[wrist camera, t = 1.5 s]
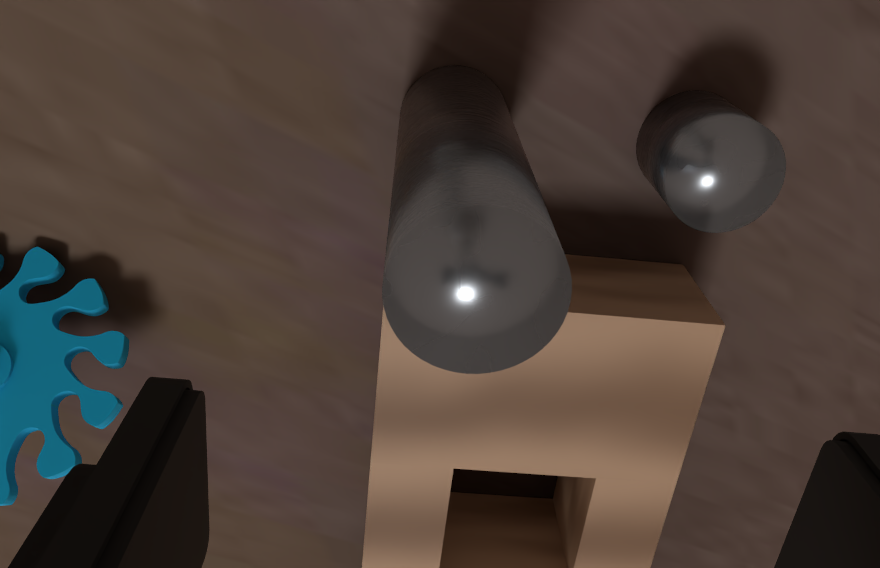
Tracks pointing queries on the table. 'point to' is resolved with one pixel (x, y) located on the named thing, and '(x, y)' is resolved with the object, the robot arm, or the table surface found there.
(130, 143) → the table surface
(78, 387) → the gear
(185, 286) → the table surface
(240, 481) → the table surface
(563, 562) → the hole block
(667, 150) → the short pin
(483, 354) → the long pin
